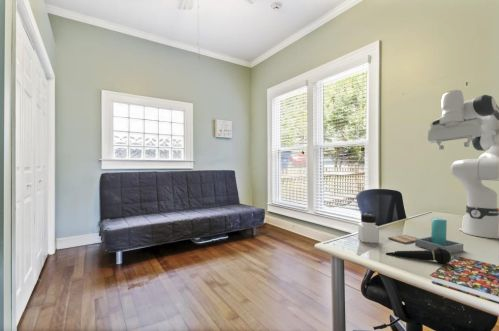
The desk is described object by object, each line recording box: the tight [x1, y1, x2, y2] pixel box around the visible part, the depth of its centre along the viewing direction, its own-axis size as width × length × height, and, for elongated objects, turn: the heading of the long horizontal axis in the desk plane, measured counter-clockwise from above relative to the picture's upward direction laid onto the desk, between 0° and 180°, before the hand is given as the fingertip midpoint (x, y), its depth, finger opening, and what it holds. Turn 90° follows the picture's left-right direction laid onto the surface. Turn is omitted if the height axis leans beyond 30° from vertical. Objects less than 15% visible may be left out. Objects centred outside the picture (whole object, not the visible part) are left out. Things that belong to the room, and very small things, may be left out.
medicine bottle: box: [357, 213, 380, 244], centre depth 112 cm, size 7×7×12 cm
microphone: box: [385, 247, 452, 265], centre depth 90 cm, size 6×6×20 cm
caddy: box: [414, 236, 464, 255], centre depth 102 cm, size 12×12×3 cm
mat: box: [388, 234, 419, 245], centre depth 113 cm, size 12×8×1 cm, turn 114°
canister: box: [430, 217, 448, 247], centre depth 102 cm, size 5×5×12 cm
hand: (453, 148), depth 116 cm, fingers open, 8 cm apart
